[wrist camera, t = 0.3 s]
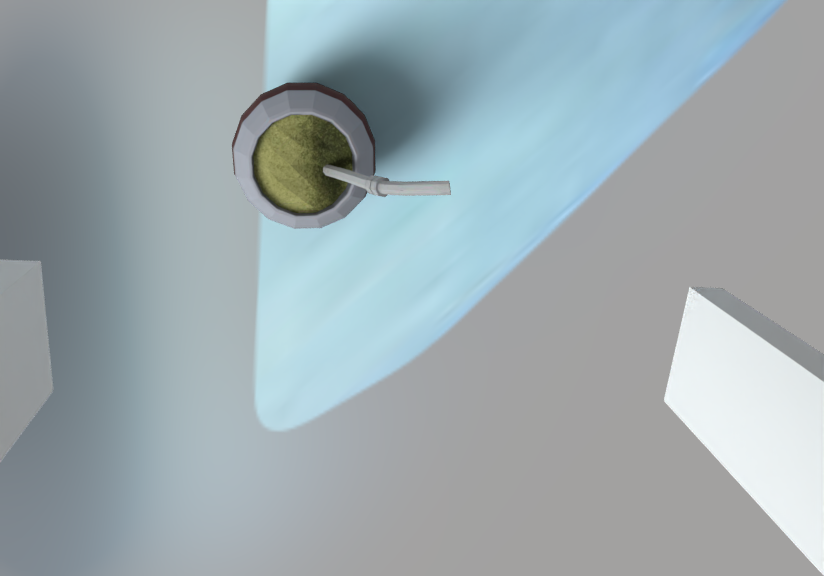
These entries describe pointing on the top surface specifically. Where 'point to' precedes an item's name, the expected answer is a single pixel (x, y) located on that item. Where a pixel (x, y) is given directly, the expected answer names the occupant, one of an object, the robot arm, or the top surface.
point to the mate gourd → (311, 157)
